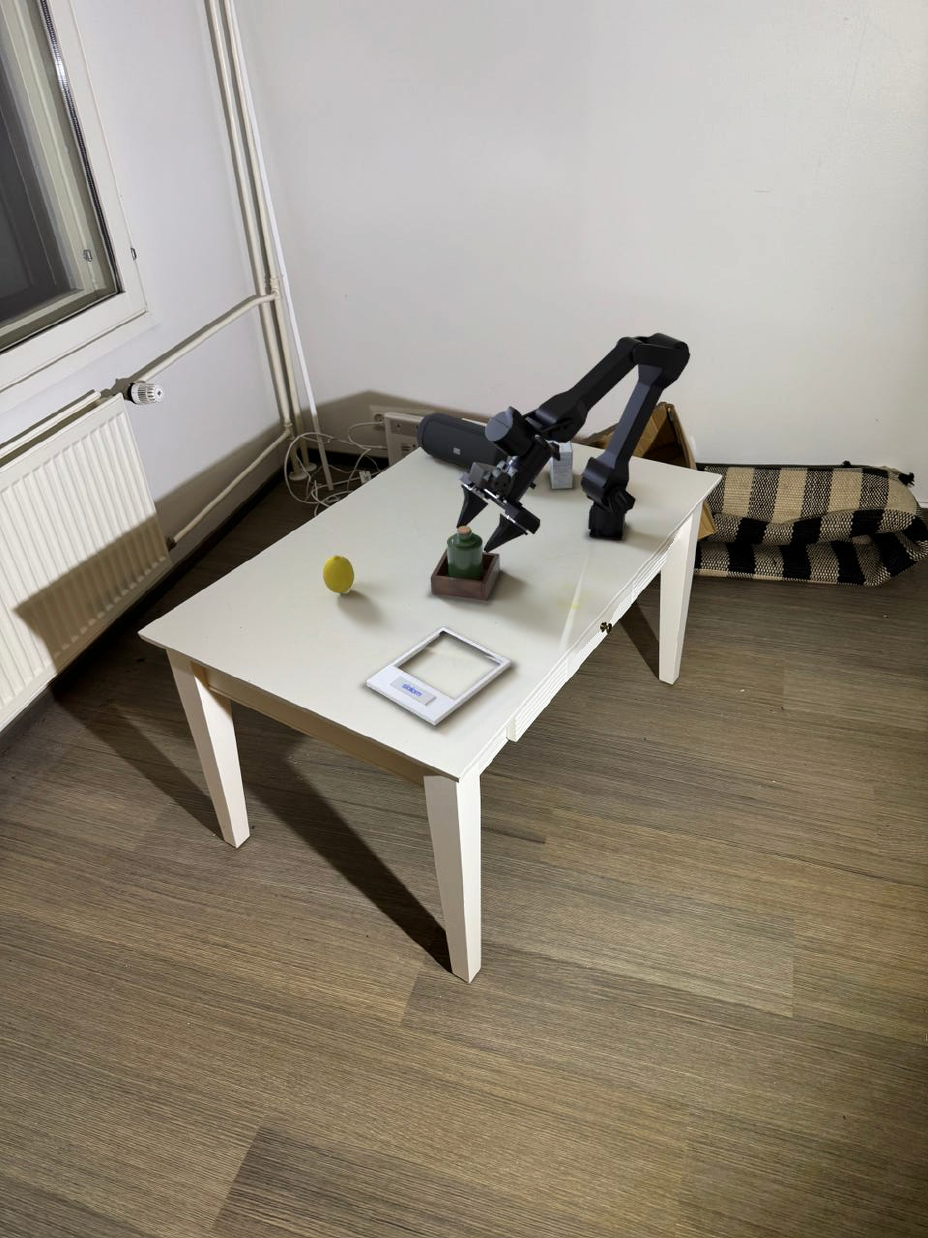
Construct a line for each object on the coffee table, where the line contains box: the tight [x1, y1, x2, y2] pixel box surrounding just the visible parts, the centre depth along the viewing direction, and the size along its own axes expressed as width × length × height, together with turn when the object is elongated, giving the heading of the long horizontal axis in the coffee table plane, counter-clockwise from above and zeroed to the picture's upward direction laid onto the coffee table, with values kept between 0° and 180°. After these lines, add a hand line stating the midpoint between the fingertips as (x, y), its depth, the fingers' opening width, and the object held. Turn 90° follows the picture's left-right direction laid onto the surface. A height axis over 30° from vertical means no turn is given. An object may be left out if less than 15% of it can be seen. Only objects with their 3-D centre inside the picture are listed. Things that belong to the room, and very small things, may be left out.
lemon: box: [322, 555, 355, 594], centre depth 157 cm, size 6×6×8 cm
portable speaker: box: [416, 412, 511, 470], centre depth 196 cm, size 26×10×10 cm, turn 50°
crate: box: [430, 547, 501, 601], centre depth 159 cm, size 10×10×4 cm
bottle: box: [446, 525, 484, 582], centre depth 157 cm, size 6×6×11 cm
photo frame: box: [366, 626, 511, 726], centre depth 139 cm, size 15×1×18 cm
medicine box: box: [549, 440, 574, 490], centre depth 189 cm, size 8×4×9 cm, turn 179°
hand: (471, 540), depth 156 cm, fingers open, 9 cm apart
